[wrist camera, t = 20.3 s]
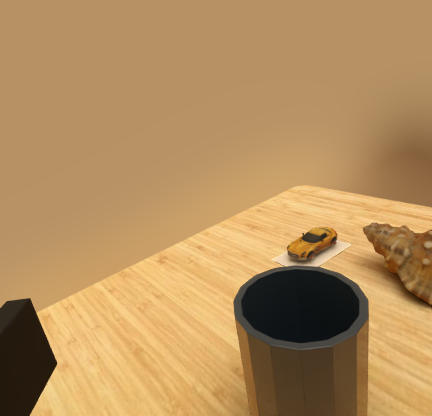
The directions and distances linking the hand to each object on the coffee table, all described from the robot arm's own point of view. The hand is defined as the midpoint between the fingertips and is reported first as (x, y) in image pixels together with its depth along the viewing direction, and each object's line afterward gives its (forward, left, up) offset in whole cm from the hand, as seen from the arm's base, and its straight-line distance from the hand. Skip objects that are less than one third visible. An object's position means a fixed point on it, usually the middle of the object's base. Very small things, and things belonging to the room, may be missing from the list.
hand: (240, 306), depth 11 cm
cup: (+3, +9, -18) cm, 20 cm away
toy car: (+10, +33, -18) cm, 39 cm away
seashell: (+19, +24, -18) cm, 35 cm away
